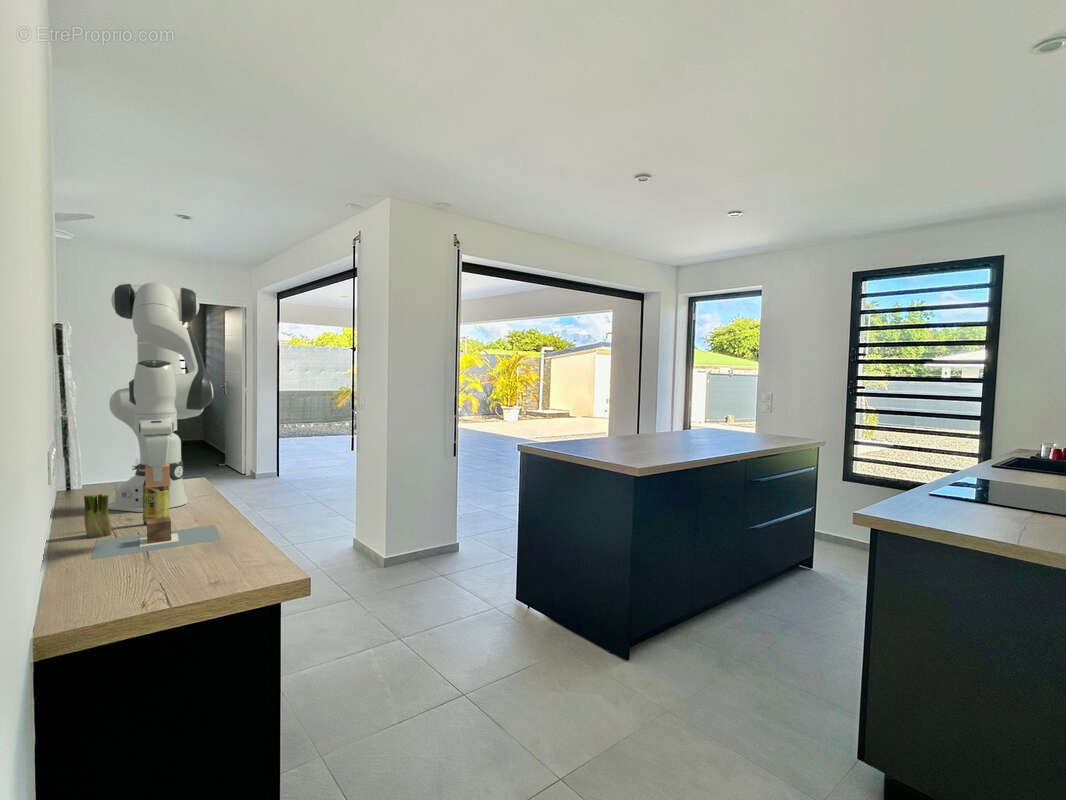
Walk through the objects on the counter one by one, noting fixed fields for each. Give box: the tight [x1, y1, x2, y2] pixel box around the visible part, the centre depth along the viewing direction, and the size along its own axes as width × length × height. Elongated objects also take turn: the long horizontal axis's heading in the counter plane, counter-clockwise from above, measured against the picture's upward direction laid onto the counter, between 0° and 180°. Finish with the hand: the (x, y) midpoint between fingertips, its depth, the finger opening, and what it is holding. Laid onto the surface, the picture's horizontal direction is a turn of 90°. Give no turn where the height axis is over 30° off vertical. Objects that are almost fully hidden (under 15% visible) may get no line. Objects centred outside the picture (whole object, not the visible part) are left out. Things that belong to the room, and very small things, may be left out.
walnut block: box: [146, 516, 172, 544], centre depth 138 cm, size 5×5×5 cm
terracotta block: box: [145, 463, 170, 488], centre depth 137 cm, size 5×5×5 cm
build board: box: [90, 524, 222, 560], centre depth 138 cm, size 26×16×1 cm, turn 125°
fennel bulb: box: [83, 493, 112, 539], centre depth 141 cm, size 6×5×12 cm
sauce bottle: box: [142, 461, 170, 526], centre depth 154 cm, size 7×6×20 cm
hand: (157, 478), depth 137 cm, fingers closed on terracotta block, 5 cm apart
